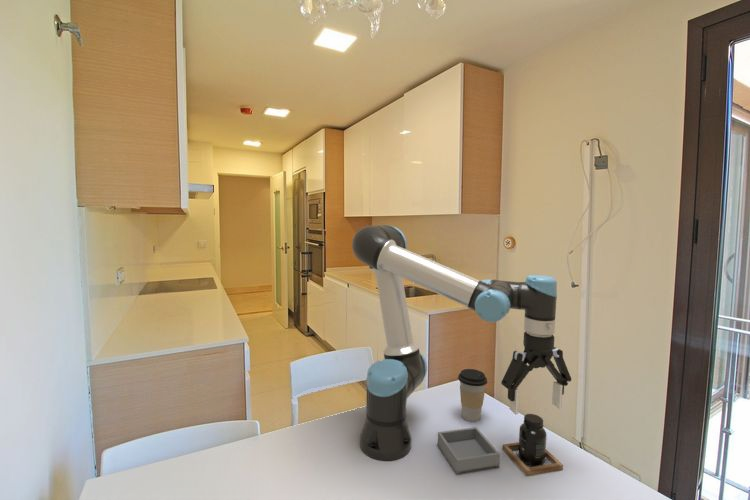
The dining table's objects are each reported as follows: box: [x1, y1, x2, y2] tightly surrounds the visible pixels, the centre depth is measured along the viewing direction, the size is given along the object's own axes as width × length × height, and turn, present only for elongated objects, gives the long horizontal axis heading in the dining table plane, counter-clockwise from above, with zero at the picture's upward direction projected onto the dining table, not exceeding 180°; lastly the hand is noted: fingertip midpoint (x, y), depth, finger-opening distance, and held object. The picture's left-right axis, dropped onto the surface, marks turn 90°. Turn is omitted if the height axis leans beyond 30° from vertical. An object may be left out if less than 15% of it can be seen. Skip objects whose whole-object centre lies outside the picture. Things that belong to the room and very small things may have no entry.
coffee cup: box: [457, 368, 488, 422], centre depth 119 cm, size 9×9×15 cm
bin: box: [437, 426, 501, 476], centre depth 99 cm, size 12×12×4 cm
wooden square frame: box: [501, 441, 564, 477], centre depth 99 cm, size 11×11×2 cm
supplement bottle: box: [517, 413, 548, 467], centre depth 98 cm, size 7×7×12 cm
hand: (535, 408), depth 97 cm, fingers open, 13 cm apart
